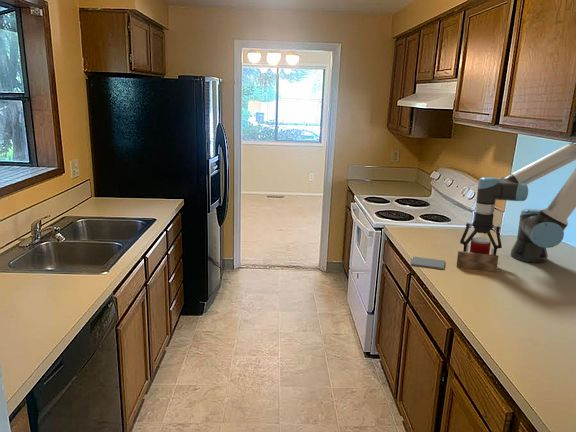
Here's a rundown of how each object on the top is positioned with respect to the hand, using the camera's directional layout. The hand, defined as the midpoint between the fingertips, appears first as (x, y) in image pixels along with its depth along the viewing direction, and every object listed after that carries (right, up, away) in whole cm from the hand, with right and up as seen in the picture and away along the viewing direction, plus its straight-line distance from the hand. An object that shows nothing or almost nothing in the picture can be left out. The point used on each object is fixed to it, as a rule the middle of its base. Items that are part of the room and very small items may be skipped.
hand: (478, 260), depth 196 cm
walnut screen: (-4, -3, -7) cm, 9 cm away
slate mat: (-23, -1, -1) cm, 23 cm away
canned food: (0, -1, 0) cm, 1 cm away
